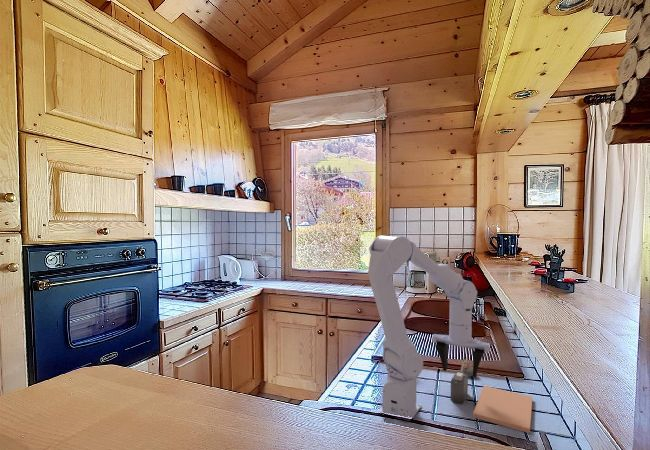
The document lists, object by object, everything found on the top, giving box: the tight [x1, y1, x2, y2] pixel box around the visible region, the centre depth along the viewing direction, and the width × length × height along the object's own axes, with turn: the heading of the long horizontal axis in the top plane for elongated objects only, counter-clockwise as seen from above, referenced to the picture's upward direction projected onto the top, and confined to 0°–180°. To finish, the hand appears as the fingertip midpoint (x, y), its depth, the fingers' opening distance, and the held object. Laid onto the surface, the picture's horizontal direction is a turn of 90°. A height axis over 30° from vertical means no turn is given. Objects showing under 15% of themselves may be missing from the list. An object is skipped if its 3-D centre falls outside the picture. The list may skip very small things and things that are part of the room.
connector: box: [450, 371, 469, 405], centre depth 96 cm, size 8×3×6 cm, turn 148°
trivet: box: [472, 385, 533, 434], centre depth 90 cm, size 18×12×1 cm, turn 148°
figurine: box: [460, 355, 473, 377], centre depth 111 cm, size 5×4×6 cm
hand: (459, 372), depth 96 cm, fingers open, 7 cm apart
